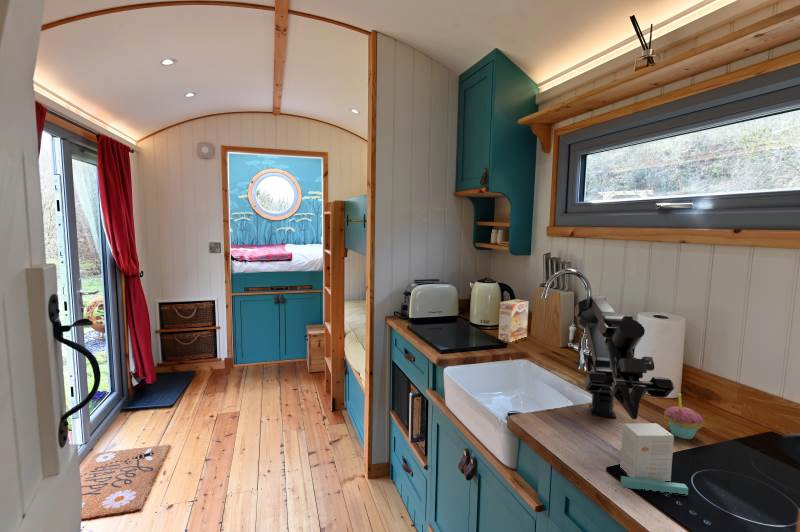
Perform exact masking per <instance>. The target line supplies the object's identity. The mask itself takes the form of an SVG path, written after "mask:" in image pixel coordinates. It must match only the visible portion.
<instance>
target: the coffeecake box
mask: <svg viewBox="0 0 800 532" xmlns="http://www.w3.org/2000/svg"><path fill="white" fill-rule="evenodd" d="M529 302H530V301H528V300H524V299H518V298H516V299H511V300H505V301H500V302H499V319H498V339H501V340H505V341H509V342H512V341H515V340H518V339H521V338H524V337H527V338H528V323H529V322H528V319H529V304H530V303H529ZM498 339H497V340H498Z"/></svg>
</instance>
